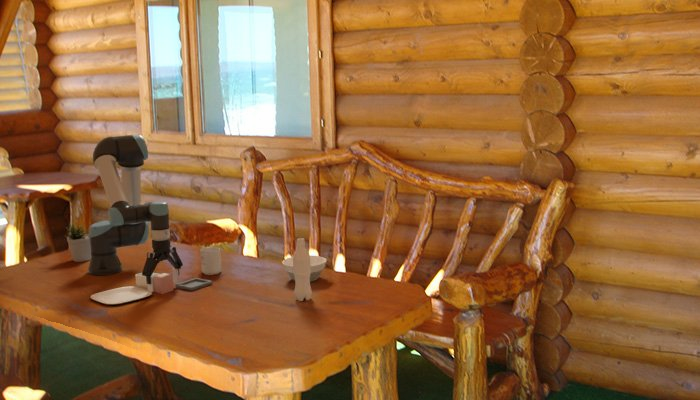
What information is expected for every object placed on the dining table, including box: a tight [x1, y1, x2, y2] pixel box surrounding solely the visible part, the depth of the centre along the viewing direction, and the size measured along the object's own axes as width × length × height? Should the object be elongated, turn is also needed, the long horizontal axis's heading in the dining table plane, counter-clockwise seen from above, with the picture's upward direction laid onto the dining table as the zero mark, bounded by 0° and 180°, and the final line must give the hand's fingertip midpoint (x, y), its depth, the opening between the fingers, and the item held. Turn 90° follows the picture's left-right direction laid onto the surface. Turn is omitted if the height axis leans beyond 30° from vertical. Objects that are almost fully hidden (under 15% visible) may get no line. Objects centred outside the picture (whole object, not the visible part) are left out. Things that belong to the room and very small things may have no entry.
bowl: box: [281, 255, 328, 283], centre depth 359 cm, size 20×20×8 cm
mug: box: [199, 246, 222, 276], centre depth 376 cm, size 12×9×11 cm
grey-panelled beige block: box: [135, 272, 160, 292], centre depth 353 cm, size 11×6×6 cm, turn 53°
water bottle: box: [292, 237, 313, 302], centre depth 327 cm, size 7×7×25 cm
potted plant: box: [64, 222, 91, 263], centre depth 407 cm, size 13×14×20 cm
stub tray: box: [174, 277, 213, 292], centre depth 354 cm, size 10×12×2 cm
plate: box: [90, 285, 153, 306], centre depth 341 cm, size 22×22×2 cm
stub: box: [153, 272, 174, 295], centre depth 348 cm, size 5×6×7 cm
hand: (163, 287), depth 348 cm, fingers open, 13 cm apart
